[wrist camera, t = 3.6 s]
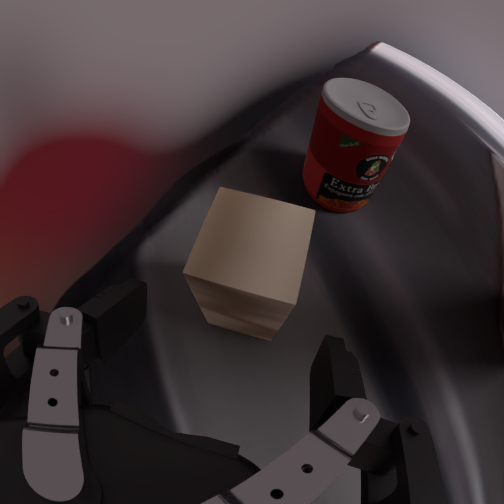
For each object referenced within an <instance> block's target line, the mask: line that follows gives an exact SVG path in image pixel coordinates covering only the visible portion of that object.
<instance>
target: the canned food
mask: <svg viewBox="0 0 504 504" xmlns="http://www.w3.org/2000/svg"><path fill="white" fill-rule="evenodd" d="M409 124H410V117H409V115H408V112H407V111H406V109H405V108H404V107H403V106H402V105H401V103H400V102H398V101H397V100H396V99H395V98H394V97H393V96H391V95H390V94H388V93H387V92H385V91H384V90H382V89H380V88H378V87H376V86H374V85H372V84H369V83H367V82H363V81H360V80H356V79H350V78H335V79H331V80H329V81H327V82H326V83H325V85H324V88H323V90H322V93H321V97H320V101H319V105H318V109H317V113H316V118H315V122H314V126H313V130H312V134H311V139H310V143H309V147H308V151H307V155H306V159H305V163H304V167H303V181H304V186H305V188H306V191H307V192H308V194H309V195H310V196H311V198H312V199H313V200H314V201H315V202H317V203H318V204H319V205H321V206H322V207H324V208H326V209H328V210H331V211H334V212H339V213H349V212H353V211H356V210H358V209H359V208H361V207H362V206H364V205H365V204H366V203H367V202H368V200H369V199H370V197H371V195H372V194H373V192H374V190H375V189H376V187H377V185H378V184H379V182H380V180H381V178H382V177H383V175H384V173H385V171H386V170H387V168H388V166H389V164H390V162H391V161H392V159H393V157H394V155H395V153H396V152H397V150H398V148H399V146H400V144H401V142H402V140H403V138H404V136H405V134H406V132H407V130H408V126H409Z"/></svg>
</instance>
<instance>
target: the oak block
mask: <svg viewBox="0 0 504 504" xmlns="http://www.w3.org/2000/svg"><path fill="white" fill-rule="evenodd" d="M314 216H315V210H312V209H308V208H305V207H301V206H297V205H293V204H290V203H286V202H282V201H278V200H274V199H270V198H266V197H262V196H258V195H254V194H250V193H245V192H241V191H237V190H233V189H228V188H224V187H220V188H219V190H218V192H217V194H216V196H215V199H214V201H213V203H212V205H211V207H210V210H209V212H208V214H207V216H206V219H205V221H204V223H203V225H202V228H201V230H200V232H199V234H198V237H197V239H196V241H195V244H194V246H193V248H192V251H191V253H190V256H189V258H188V260H187V263H186V265H185V268H184V270H183V272H182V273H183V275H184V277H185V279H186V281H187V283H188V285H189V287H190V289H191V291H192V293H193V295H194V297H195V299H196V301H197V303H198V305H199V307H200V309H201V311H202V313H203V315H204V316H205V318H206V320H207V322H208V323H209V324H212V325H216V326H219V327H222V328H225V329H229V330H232V331H236V332H239V333H242V334H246V335H250V336H253V337H257V338H260V339H264V340H268V341H271V340H272V339H273V338H274V336H275V335H276V333H277V332H278V330H279V329H280V328H281V326H282V325H283V323H284V322H285V320H286V319H287V317H288V316H289V315H290V313H291V312H292V310H293V309H294V307H295V306H296V303H297V298H298V294H299V289H300V285H301V280H302V276H303V271H304V267H305V262H306V257H307V252H308V247H309V242H310V237H311V232H312V227H313V221H314Z"/></svg>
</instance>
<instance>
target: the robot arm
mask: <svg viewBox="0 0 504 504" xmlns="http://www.w3.org/2000/svg"><path fill="white" fill-rule="evenodd" d="M146 304H147V284H146V283H145V282H142V281H140V280H137V279H134V278H129V279H128V280H126V281H125V282H123V283H122V284H117V285H114V286H110V287H108V288H106V289H105V290H103V291H102V293H99V294H98V295H96V297H93V298H92V299H90V300H89V301H87V302H86V303H85V304H83V305H82V306H80V307H79V308H77V309H75V308H72V307H61V308H58V309H56V310H54V311H53V312H52V313H48V312H44V311H40V310H39V307H38V302H37V300H36V299H35V298H33V297H30V296H21V297H18V298H16V299H14V300H12V301H11V302H9V303H8V304H6V305H5V306H3V307H2V308H0V411H1V409H2V408H3V407H4V406H5V405H6V404H7V403H8V402H9V401H10V400H11V398H12V397H13V396H14V395H15V394H16V393H17V392H18V391H19V390H20V389H21V388H22V387H23V386H24V385H25V384H26V383H27V382H28V381H29V380H30V379H31V378H32V379H31V386H30V395H29V406H28V416H26V417H19V418H12V419H4V420H0V504H310V503H311V502H312V501H313V500H314V499H315V498H316V497H317V496H318V495H319V494H320V493H321V492H322V491H323V490H324V489H325V488H326V487H327V486H328V485H329V484H330V483H331V482H332V481H333V480H334V479H335V478H336V477H337V475H338V474H339V473H340V472H341V471H342V470H343V469H344V468H345V466H346V465H349V466H352V467H355V468H358V469H361V504H446V499H445V493H444V488H443V482H442V477H441V473H440V468H439V464H438V460H437V455H436V451H435V448H434V444H433V440H432V436H431V433H430V430H429V427H428V426H427V424H426V423H425V422H424V421H423V420H421V419H419V418H417V417H413V416H408V417H405V418H403V419H402V420H401V421H400V423H399V424H397V423H394V422H391V421H388V420H385V419H383V418H381V417H380V413H379V410H378V409H377V407H376V406H375V405H374V404H373V403H371V402H370V401H368V400H367V398H366V394H365V389H364V385H363V381H362V377H361V372H360V370H359V369H360V368H359V364H358V360H357V359H356V357H355V356H354V355H353V353H352V352H349V351H346V349H345V344H344V340H343V339H342V338H338V337H333V336H329V335H326V336H325V337H324V339H323V341H322V343H321V346H320V348H319V350H318V352H317V355H316V357H315V359H314V361H313V364H312V367H311V370H310V424H309V433H308V434H307V435H306V436H305V437H304V438H302V439H301V440H300V441H299V442H298V443H296V444H295V445H294V446H293V447H291V448H290V449H289V450H288V451H286V452H285V453H284V454H282V455H281V456H280V457H279V458H277V459H276V460H275V461H273V462H272V463H270V464H269V465H268V466H266V467H265V468H263V469H262V470H261V469H260V468H259V467H257V466H256V465H255V464H254V463H252V462H251V461H249V460H248V459H246V458H244V457H243V456H241V455H239V454H238V452H239V448H240V446H238V445H234V444H230V443H227V442H223V441H220V440H216V439H213V438H210V437H204V436H196V435H188V434H181V433H175V432H172V431H170V430H168V429H166V428H165V427H163V426H162V425H160V424H159V423H158V422H156V421H155V420H153V419H152V418H150V417H149V416H148V415H146V414H145V413H143V412H141V411H139V410H137V409H134V408H132V407H130V406H128V405H126V404H124V403H122V402H120V401H118V400H117V401H116V402H115V403H114V405H113V406H112V407H110V406H105V405H97V404H93V398H92V385H91V368H90V363H91V362H92V361H93V360H94V361H96V362H97V363H99V364H101V365H103V364H104V363H105V362H106V361H107V360H108V359H109V358H110V357H111V356H112V355H113V354H114V353H115V352H116V351H117V349H118V348H119V347H120V346H121V345H122V344H123V343H124V342H125V341H126V340H127V339H128V338H129V337H130V336H131V335H132V334H133V333H134V332H135V331H136V330H137V329H138V328H139V327H140V326H141V325H142V323H143V321H144V319H145V316H146ZM17 336H18V339H19V342H20V346H19V347H18V348H17V349H15V350H14V351H13V352H12V353H11V354H10V355H8V356H7V357H6V358H4V355H3V352H4V348H5V346H6V345H7V344H8V343H10V342H11V341H12V340H13V339H14V338H16V337H17Z"/></svg>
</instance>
